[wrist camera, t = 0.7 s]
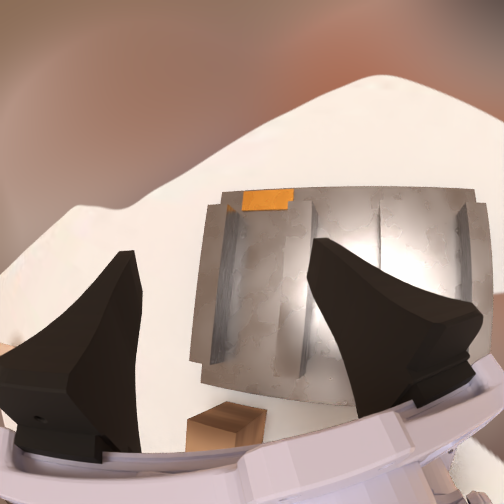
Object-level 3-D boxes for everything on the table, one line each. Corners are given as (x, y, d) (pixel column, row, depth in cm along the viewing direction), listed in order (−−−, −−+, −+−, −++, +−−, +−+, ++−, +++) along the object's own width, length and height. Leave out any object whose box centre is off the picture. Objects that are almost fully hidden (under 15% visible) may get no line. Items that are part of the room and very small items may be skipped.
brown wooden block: (252, 506, 22) (223, 541, 16) (217, 496, 23) (182, 526, 17) (267, 409, 24) (236, 433, 18) (227, 401, 26) (187, 419, 20)
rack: (469, 402, 18) (482, 412, 15) (203, 381, 27) (184, 387, 24) (472, 191, 22) (483, 175, 19) (224, 194, 31) (209, 180, 28)
